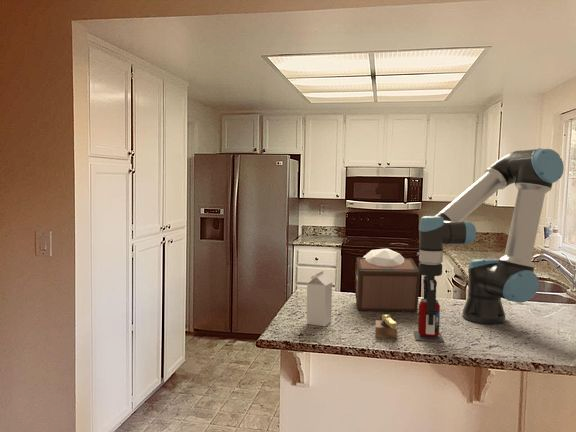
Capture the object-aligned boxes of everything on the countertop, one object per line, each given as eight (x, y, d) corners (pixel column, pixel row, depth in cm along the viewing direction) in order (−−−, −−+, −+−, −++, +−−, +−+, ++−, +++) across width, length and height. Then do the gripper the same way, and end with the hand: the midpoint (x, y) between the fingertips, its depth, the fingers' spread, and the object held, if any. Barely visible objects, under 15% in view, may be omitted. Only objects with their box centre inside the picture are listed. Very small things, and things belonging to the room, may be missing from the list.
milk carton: (331, 321, 173) (332, 271, 172) (324, 327, 167) (325, 274, 165) (313, 319, 176) (314, 269, 175) (306, 324, 170) (307, 273, 168)
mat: (440, 333, 160) (440, 332, 160) (444, 342, 151) (444, 341, 151) (413, 332, 162) (413, 330, 162) (415, 340, 153) (415, 339, 153)
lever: (397, 328, 151) (397, 322, 151) (389, 329, 151) (389, 322, 150) (388, 320, 160) (389, 314, 160) (381, 320, 160) (381, 314, 160)
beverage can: (440, 339, 152) (441, 303, 152) (418, 337, 154) (419, 301, 153) (437, 333, 159) (438, 298, 158) (417, 332, 160) (418, 297, 160)
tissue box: (357, 319, 189) (359, 264, 182) (352, 288, 216) (353, 239, 209) (417, 320, 188) (422, 265, 181) (404, 289, 215) (408, 239, 207)
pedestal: (396, 331, 162) (396, 320, 162) (396, 338, 154) (397, 327, 154) (375, 330, 164) (375, 318, 163) (375, 337, 156) (375, 325, 155)
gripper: (416, 257, 165) (414, 320, 167) (421, 267, 145) (419, 339, 147) (438, 258, 164) (436, 321, 166) (446, 268, 144) (444, 340, 145)
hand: (428, 329), depth 156 cm, fingers open, 8 cm apart
